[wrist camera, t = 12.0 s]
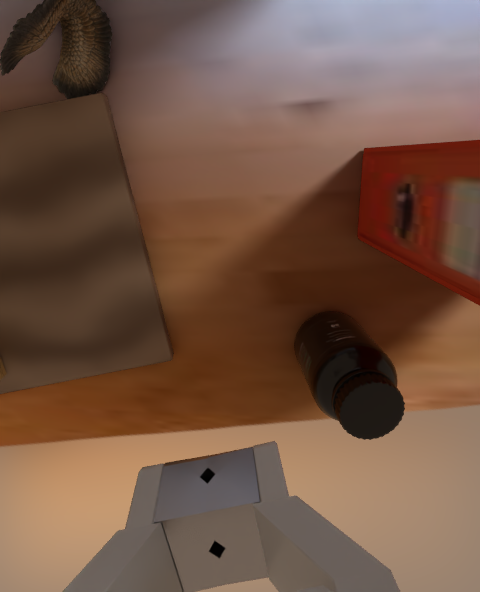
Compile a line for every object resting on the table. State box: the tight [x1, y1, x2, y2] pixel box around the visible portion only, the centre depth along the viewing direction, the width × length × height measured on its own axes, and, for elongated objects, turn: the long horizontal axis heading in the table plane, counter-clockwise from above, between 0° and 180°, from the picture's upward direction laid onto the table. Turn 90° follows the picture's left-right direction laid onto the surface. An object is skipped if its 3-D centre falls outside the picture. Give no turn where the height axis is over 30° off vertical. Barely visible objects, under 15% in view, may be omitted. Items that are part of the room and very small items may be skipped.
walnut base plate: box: [0, 93, 174, 394], centre depth 35 cm, size 23×22×2 cm
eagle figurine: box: [0, 0, 112, 99], centre depth 28 cm, size 8×7×9 cm
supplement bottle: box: [294, 311, 405, 440], centre depth 35 cm, size 7×7×12 cm
